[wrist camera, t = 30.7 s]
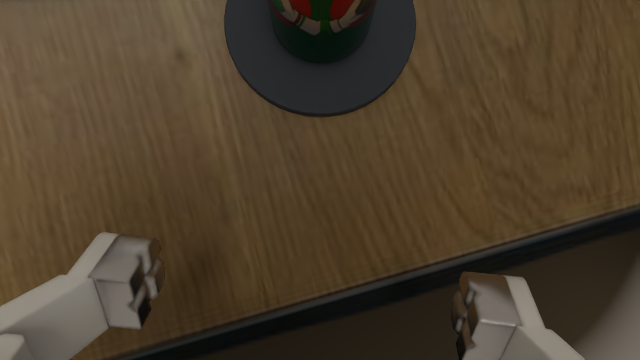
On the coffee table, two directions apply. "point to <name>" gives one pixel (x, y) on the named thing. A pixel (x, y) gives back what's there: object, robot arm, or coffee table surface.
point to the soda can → (321, 27)
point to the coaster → (312, 78)
